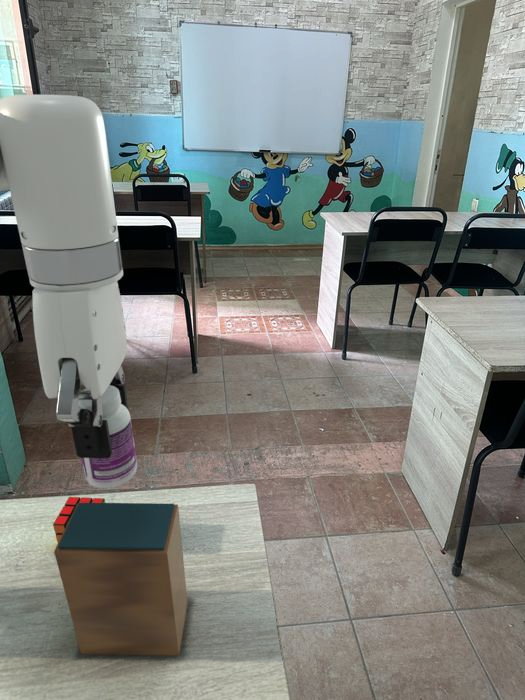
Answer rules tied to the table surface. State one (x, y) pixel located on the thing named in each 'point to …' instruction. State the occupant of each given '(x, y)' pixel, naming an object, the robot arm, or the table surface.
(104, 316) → the robot arm
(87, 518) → the cloth
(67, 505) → the puzzle toy
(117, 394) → the pill bottle
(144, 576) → the stand
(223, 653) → the table surface
